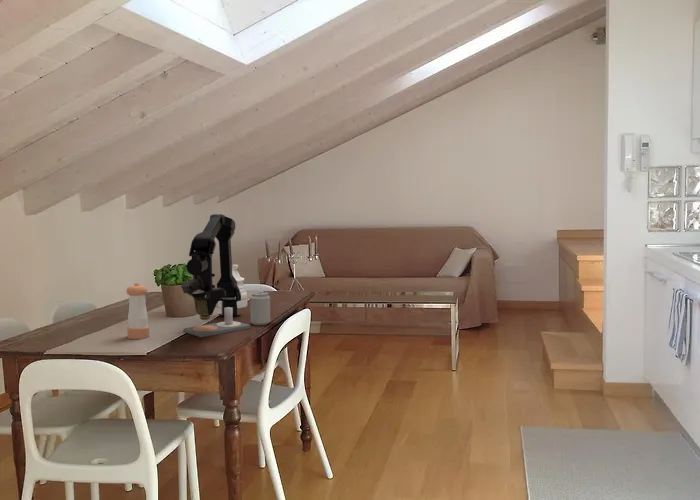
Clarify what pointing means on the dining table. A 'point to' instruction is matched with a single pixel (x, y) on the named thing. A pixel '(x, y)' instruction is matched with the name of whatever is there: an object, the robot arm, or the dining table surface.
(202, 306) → the decorative vase
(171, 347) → the dining table surface
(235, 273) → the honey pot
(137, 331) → the pepper shaker
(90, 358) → the dining table surface
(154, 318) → the dining table surface
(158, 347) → the dining table surface
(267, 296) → the can
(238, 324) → the board
